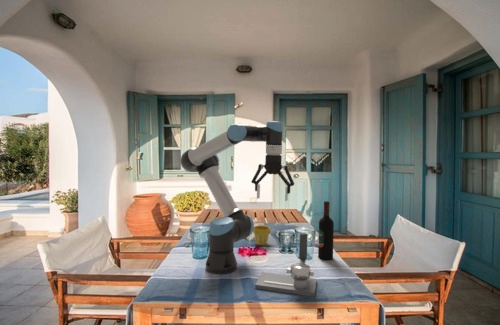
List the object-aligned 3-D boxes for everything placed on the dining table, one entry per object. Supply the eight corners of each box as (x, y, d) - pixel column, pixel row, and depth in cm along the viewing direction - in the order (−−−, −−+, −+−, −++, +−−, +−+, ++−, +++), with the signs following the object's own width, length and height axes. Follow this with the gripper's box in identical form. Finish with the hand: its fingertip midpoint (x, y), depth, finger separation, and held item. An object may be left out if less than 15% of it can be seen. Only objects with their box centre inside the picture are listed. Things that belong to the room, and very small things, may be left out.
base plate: (255, 288, 123) (255, 275, 122) (262, 275, 135) (262, 263, 135) (314, 296, 116) (314, 282, 116) (316, 282, 128) (316, 269, 128)
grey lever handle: (291, 261, 136) (291, 232, 136) (315, 264, 133) (316, 234, 133) (285, 278, 118) (286, 244, 118) (313, 282, 116) (314, 247, 115)
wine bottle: (330, 261, 152) (331, 203, 150) (316, 258, 156) (317, 202, 154) (334, 257, 158) (335, 201, 157) (320, 254, 162) (322, 200, 161)
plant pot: (273, 242, 181) (273, 226, 181) (264, 247, 173) (264, 230, 172) (258, 239, 187) (258, 224, 186) (249, 244, 178) (249, 228, 178)
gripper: (245, 153, 139) (244, 198, 140) (299, 155, 132) (297, 202, 134) (250, 153, 146) (249, 195, 147) (301, 155, 139) (299, 199, 141)
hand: (272, 199), depth 141 cm, fingers open, 13 cm apart
